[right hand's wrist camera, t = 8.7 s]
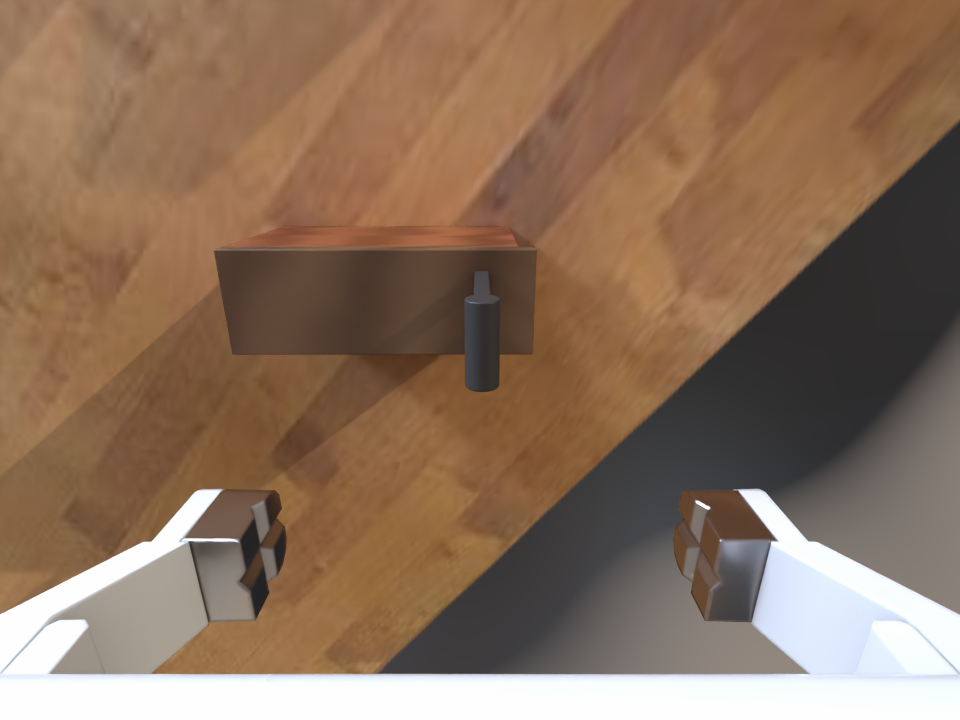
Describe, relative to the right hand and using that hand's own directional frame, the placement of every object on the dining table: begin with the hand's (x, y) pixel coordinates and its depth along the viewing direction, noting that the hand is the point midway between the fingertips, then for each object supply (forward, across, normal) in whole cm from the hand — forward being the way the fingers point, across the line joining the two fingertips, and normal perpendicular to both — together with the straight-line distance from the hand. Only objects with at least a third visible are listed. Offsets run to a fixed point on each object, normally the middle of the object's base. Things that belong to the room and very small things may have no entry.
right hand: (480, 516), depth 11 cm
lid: (+18, -5, 0) cm, 19 cm away
